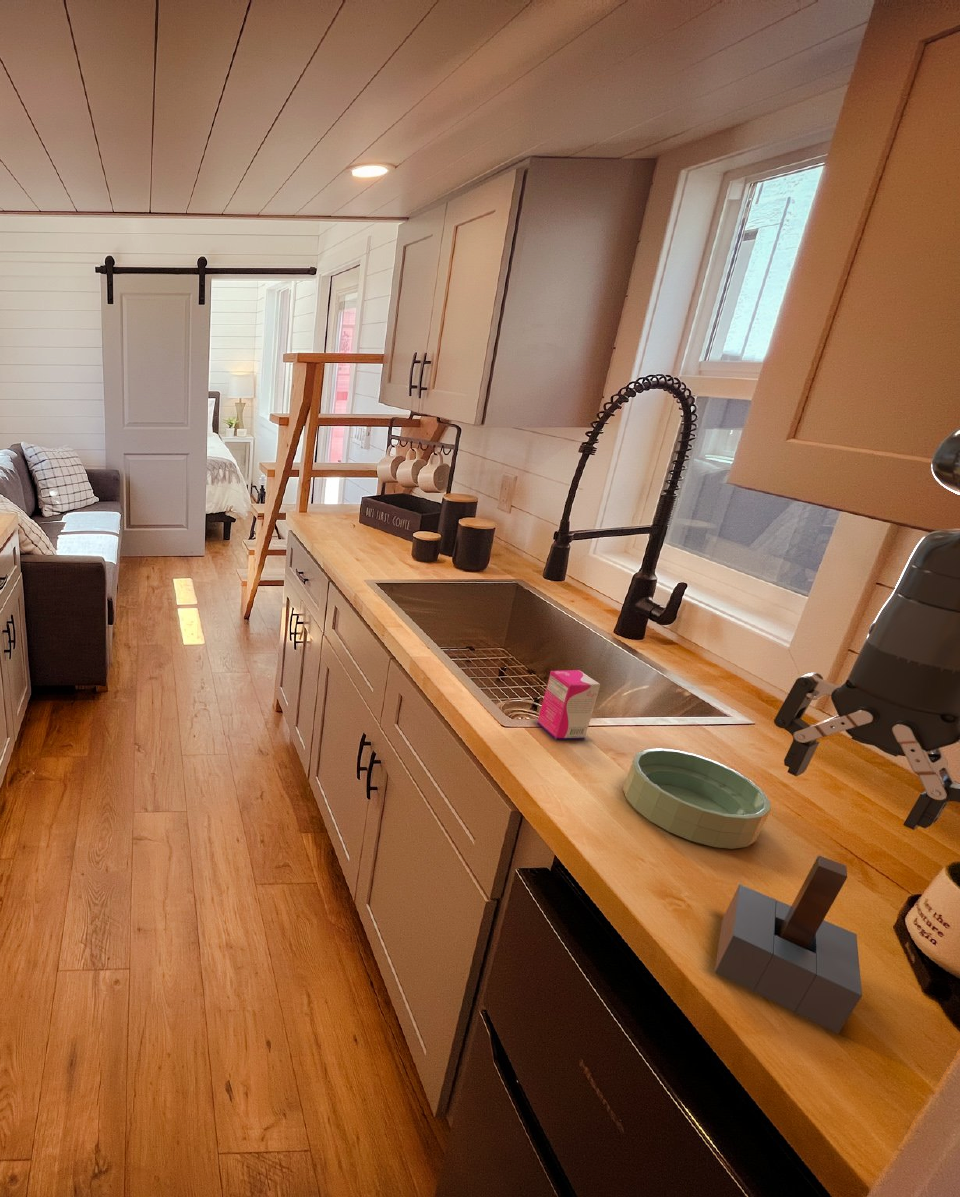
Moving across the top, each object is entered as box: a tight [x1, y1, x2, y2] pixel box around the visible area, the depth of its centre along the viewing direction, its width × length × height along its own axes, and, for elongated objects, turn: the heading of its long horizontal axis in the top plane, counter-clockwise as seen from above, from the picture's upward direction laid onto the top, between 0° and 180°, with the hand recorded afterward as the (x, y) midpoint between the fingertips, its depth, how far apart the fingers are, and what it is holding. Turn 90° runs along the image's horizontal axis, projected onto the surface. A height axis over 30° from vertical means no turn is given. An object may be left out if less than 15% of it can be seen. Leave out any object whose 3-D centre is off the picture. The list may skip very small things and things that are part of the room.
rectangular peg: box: [776, 855, 848, 949], centre depth 71 cm, size 2×2×16 cm
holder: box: [714, 883, 863, 1035], centre depth 73 cm, size 10×10×6 cm
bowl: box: [622, 747, 772, 850], centre depth 98 cm, size 16×16×6 cm
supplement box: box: [536, 669, 601, 741], centre depth 117 cm, size 6×6×12 cm
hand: (850, 797), depth 63 cm, fingers open, 8 cm apart
